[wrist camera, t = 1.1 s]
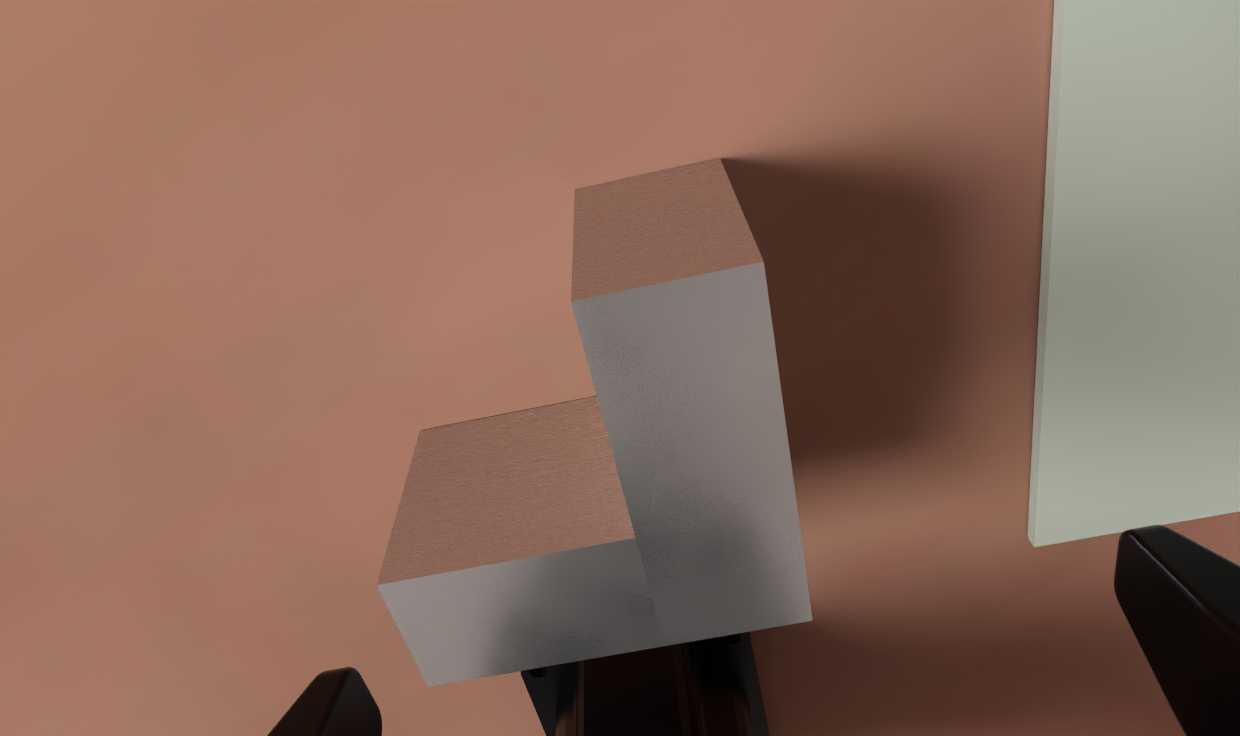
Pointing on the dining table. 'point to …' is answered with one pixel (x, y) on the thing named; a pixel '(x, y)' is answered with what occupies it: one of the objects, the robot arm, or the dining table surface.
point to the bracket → (617, 462)
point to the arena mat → (1139, 270)
